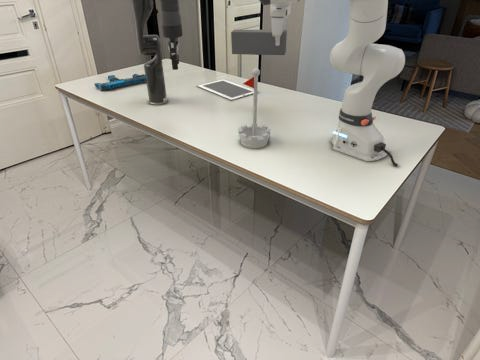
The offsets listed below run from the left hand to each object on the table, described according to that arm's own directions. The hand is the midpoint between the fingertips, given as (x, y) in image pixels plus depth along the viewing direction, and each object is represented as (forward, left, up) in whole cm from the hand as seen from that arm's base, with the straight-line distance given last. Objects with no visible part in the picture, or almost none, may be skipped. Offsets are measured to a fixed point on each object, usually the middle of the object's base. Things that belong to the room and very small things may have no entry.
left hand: (175, 66), depth 138 cm
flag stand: (+30, +17, -27) cm, 44 cm away
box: (+1, +42, 0) cm, 42 cm away
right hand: (+8, +48, +4) cm, 49 cm away
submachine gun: (-82, +2, -27) cm, 86 cm away
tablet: (-33, +46, -27) cm, 63 cm away
